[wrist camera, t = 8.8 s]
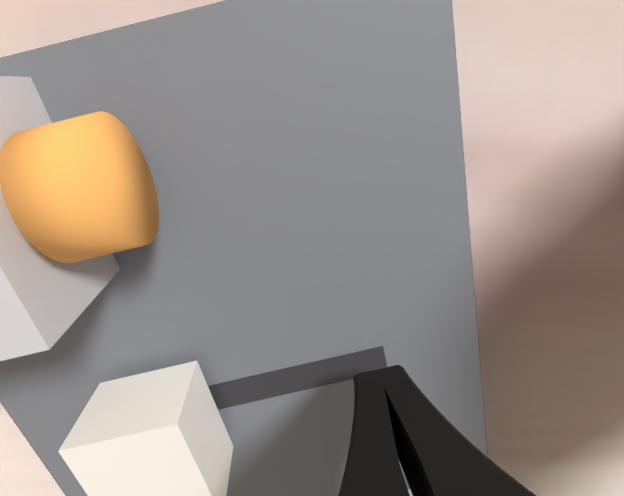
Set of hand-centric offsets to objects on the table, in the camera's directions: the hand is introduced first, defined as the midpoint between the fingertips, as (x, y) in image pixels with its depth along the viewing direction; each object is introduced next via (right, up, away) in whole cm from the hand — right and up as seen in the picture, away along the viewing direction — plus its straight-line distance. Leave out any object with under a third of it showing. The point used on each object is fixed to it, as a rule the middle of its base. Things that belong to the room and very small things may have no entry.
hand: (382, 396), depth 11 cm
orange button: (-6, +6, -1) cm, 9 cm away
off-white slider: (-7, -1, +2) cm, 7 cm away
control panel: (-4, 0, +3) cm, 5 cm away
